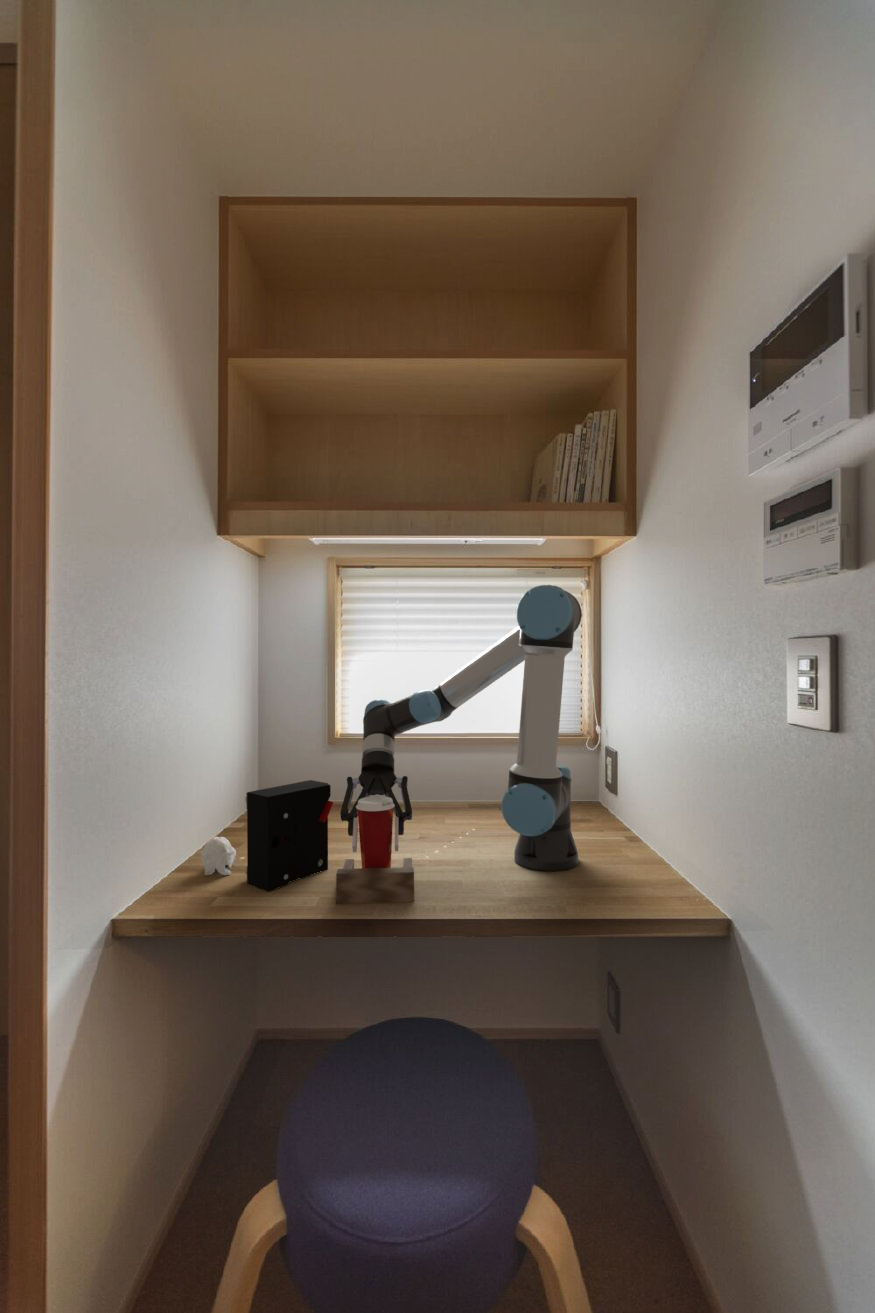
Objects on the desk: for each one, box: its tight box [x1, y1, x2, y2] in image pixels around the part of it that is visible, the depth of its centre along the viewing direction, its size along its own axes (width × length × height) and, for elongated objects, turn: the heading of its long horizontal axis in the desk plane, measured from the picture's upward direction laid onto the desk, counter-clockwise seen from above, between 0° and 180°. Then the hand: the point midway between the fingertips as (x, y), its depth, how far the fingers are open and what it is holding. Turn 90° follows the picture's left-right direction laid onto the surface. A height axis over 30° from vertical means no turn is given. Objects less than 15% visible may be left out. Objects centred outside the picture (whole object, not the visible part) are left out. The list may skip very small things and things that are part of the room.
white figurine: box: [200, 836, 238, 877], centre depth 151 cm, size 6×8×12 cm
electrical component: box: [245, 779, 334, 893], centre depth 147 cm, size 18×10×20 cm, turn 141°
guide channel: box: [335, 857, 415, 905], centre depth 143 cm, size 16×22×6 cm
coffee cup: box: [356, 795, 395, 868], centre depth 139 cm, size 8×8×15 cm
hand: (375, 848), depth 136 cm, fingers closed on coffee cup, 8 cm apart
